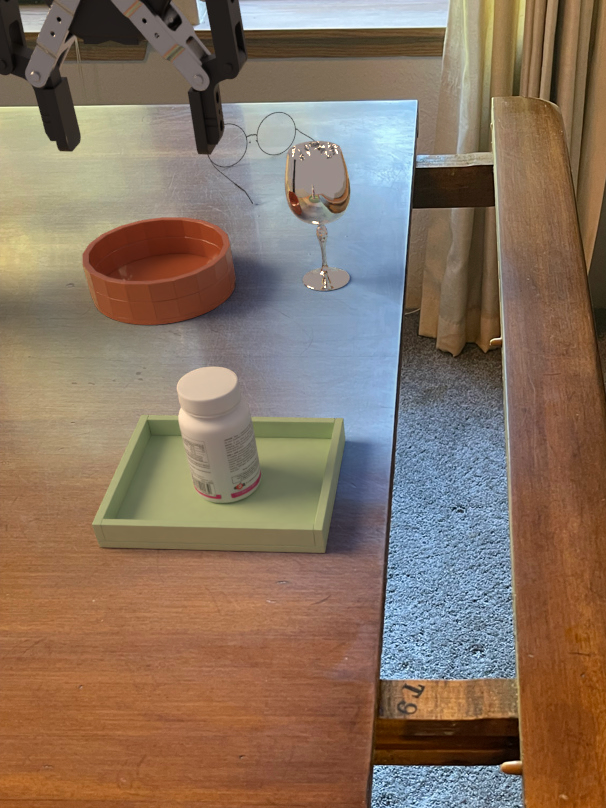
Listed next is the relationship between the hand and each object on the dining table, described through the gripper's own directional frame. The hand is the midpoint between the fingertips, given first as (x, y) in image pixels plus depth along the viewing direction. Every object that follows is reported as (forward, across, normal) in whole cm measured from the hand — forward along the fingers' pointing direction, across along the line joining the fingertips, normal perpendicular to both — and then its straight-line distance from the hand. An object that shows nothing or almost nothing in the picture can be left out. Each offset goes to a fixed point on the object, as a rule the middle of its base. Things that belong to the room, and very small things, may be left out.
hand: (138, 148), depth 58 cm
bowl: (+22, +8, -22) cm, 32 cm away
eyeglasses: (+22, +3, -48) cm, 53 cm away
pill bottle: (+21, -4, +7) cm, 22 cm away
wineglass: (+22, -7, -24) cm, 33 cm away
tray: (+21, -4, +7) cm, 23 cm away
